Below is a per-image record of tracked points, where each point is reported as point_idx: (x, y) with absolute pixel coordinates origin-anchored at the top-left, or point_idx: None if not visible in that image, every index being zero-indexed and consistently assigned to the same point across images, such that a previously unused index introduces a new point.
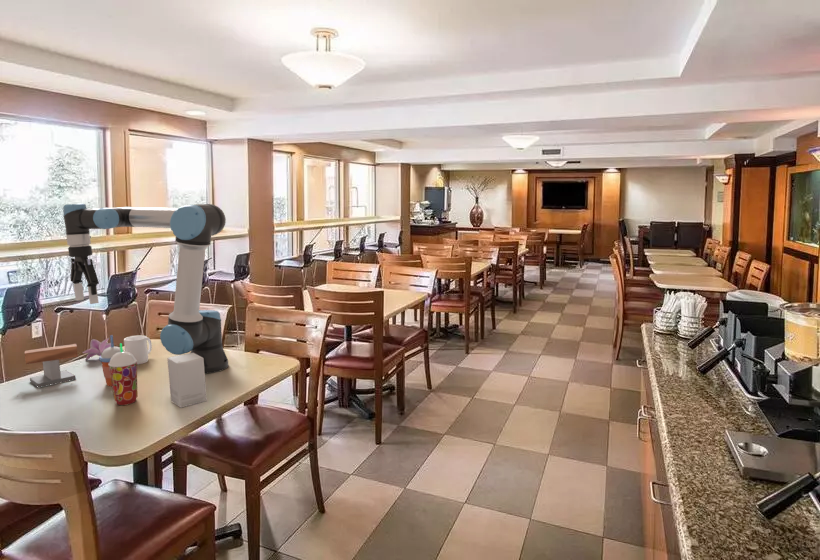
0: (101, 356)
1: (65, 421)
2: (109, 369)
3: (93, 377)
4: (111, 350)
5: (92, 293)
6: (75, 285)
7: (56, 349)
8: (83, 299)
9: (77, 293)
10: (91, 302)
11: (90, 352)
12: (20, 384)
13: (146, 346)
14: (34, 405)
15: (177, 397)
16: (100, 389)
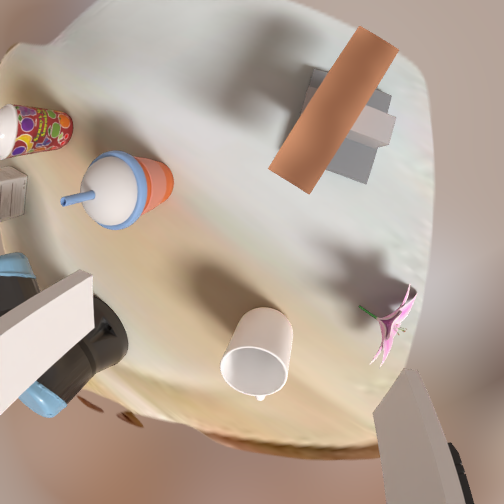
0: (115, 158)
1: (84, 35)
2: (19, 106)
3: (254, 189)
4: (84, 179)
5: (2, 314)
6: (437, 500)
7: (307, 105)
8: (376, 411)
9: (411, 430)
10: (70, 279)
11: (402, 304)
12: (389, 76)
13: (232, 363)
14: (195, 16)
15: (3, 169)
16: (152, 138)
